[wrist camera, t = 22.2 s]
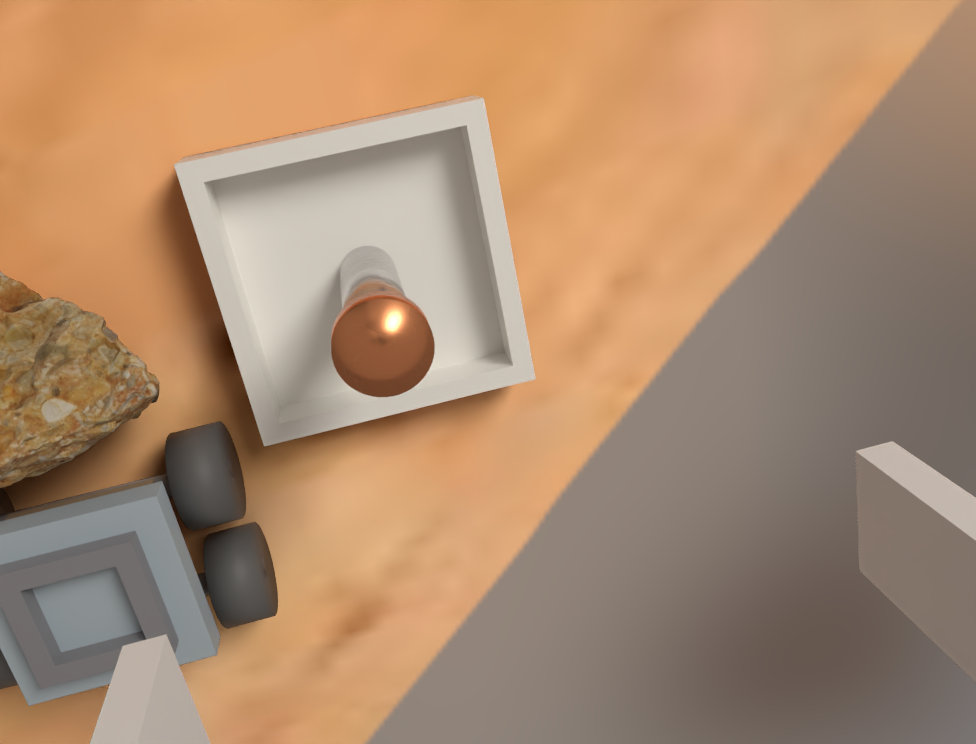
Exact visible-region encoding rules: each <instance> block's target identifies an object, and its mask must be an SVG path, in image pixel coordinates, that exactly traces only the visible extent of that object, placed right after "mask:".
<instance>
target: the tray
mask: <svg viewBox="0 0 976 744" xmlns="http://www.w3.org/2000/svg"><path fill="white" fill-rule="evenodd" d="M174 167H175V170H176V173H177V176H178V179H179V182H180V185H181V188H182V192H183V195H184V198H185V201H186V204H187V207H188V210H189V213H190V217H191V220H192V223H193V226H194V229H195V232H196V235H197V238H198V242H199V245H200V248H201V251H202V254H203V257H204V260H205V263H206V267H207V270H208V273H209V276H210V279H211V282H212V285H213V288H214V291H215V295H216V298H217V301H218V304H219V307H220V310H221V313H222V316H223V320H224V323H225V326H226V329H227V332H228V335H229V338H230V341H231V345H232V348H233V351H234V354H235V357H236V360H237V363H238V366H239V370H240V373H241V376H242V379H243V382H244V385H245V388H246V391H247V395H248V398H249V401H250V404H251V407H252V410H253V413H254V416H255V420H256V423H257V426H258V429H259V432H260V435H261V438H262V441H263V444H264V447H265V446H269V445H273V444H277V443H281V442H285V441H289V440H293V439H297V438H301V437H305V436H309V435H313V434H317V433H321V432H325V431H329V430H333V429H337V428H341V427H345V426H349V425H353V424H357V423H361V422H365V421H369V420H373V419H377V418H381V417H385V416H389V415H393V414H397V413H401V412H405V411H409V410H414V409H418V408H422V407H426V406H430V405H434V404H438V403H442V402H446V401H450V400H454V399H458V398H462V397H466V396H470V395H474V394H478V393H482V392H486V391H490V390H494V389H498V388H502V387H506V386H510V385H514V384H518V383H522V382H526V381H530V380H534V379H535V373H534V368H533V363H532V357H531V352H530V346H529V341H528V336H527V330H526V325H525V319H524V314H523V308H522V303H521V298H520V292H519V287H518V281H517V276H516V271H515V265H514V260H513V254H512V249H511V243H510V238H509V233H508V227H507V222H506V216H505V211H504V206H503V200H502V195H501V189H500V184H499V178H498V173H497V168H496V162H495V157H494V151H493V146H492V141H491V135H490V130H489V124H488V119H487V113H486V108H485V103H484V98H481V97H477V96H474V95H473V96H468V97H463V98H459V99H454V100H449V101H445V102H440V103H435V104H431V105H426V106H421V107H417V108H412V109H407V110H402V111H398V112H393V113H388V114H384V115H379V116H374V117H370V118H365V119H360V120H356V121H351V122H346V123H342V124H337V125H332V126H328V127H323V128H318V129H314V130H309V131H304V132H300V133H295V134H290V135H286V136H281V137H276V138H272V139H267V140H262V141H258V142H253V143H248V144H244V145H239V146H234V147H230V148H225V149H220V150H216V151H211V152H206V153H202V154H197V155H192V156H187V157H184V158H182V159H181V160H180V161H178V162H177V163H175V164H174ZM361 246H375V247H378V248H381V249H382V250H384V251H385V252H387V253H388V254H389V255H390V257H391V258H392V260H393V261H394V264H395V266H396V269H397V272H398V275H399V278H400V281H401V284H402V287H403V290H404V293H405V296H406V297H407V298H408V299H410V300H411V301H413V302H414V303H415V304H416V305H417V306H418V307H419V308H420V309H421V310H422V311H423V313H424V315H425V316H426V318H427V321H428V323H429V325H430V328H431V331H432V333H433V337H434V343H435V352H434V358H433V362H432V365H431V367H430V369H429V371H428V372H427V374H426V376H425V377H424V378H423V379H422V380H421V381H420V382H419V383H418V384H417V385H416V386H415V387H413V388H412V389H410V390H408V391H407V392H404V393H402V394H400V395H396V396H391V397H373V396H368V395H365V394H362V393H360V392H358V391H356V390H354V389H353V388H351V387H350V386H349V385H347V384H346V383H345V382H344V381H343V379H342V378H341V377H340V376H339V374H338V373H337V371H336V369H335V366H334V364H333V360H332V355H331V332H332V328H333V324H334V322H335V319H336V317H337V316H338V314H339V313H340V311H341V310H342V300H341V286H340V267H341V263H342V261H343V259H344V258H345V256H346V255H347V254H348V253H349V252H350V251H352V250H353V249H355V248H358V247H361Z"/></svg>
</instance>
